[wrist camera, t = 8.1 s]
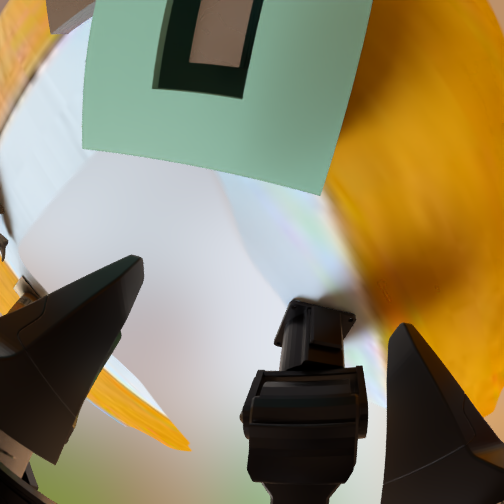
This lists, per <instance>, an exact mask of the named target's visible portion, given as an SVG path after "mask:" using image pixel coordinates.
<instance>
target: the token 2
mask: <svg viewBox="0 0 504 504" xmlns="http://www.w3.org/2000/svg"><path fill="white" fill-rule="evenodd" d="M263 1H264V0H201V3H200V8H199V12H198V17H197V22H196V27H195V32H194V37H193V43H192V48H191V54H190V60H189V62H190V63H200V64H208V65H216V66H225V67H233V68H240V69H247V70H248V69H249V64H250V59H251V54H252V50H253V45H254V40H255V36H256V31H257V27H258V23H259V18H260V14H261V10H262V5H263Z"/></svg>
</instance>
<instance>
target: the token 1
mask: <svg viewBox="0 0 504 504" xmlns="http://www.w3.org/2000/svg"><path fill="white" fill-rule="evenodd" d="M95 4H96V0H46V6H47V13H48V20H49V27H50V33H51V34H68V33H69V32H71V31H72V30H73V29H75V28H76V27H78V26H79V25H80V24H82V23H83V22H85V21H86V20H88V19H89V18H91V17H92V16H93V13H94V8H95Z"/></svg>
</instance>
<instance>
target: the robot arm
mask: <svg viewBox="0 0 504 504" xmlns="http://www.w3.org/2000/svg"><path fill="white" fill-rule="evenodd" d="M143 281H144V267H143V259H142V258H141V257H139V256H135V255H129V256H127V257H125V258H122V259H120V260H118V261H116V262H114V263H112V264H110V265H107V266H105V267H103V268H101V269H99V270H97V271H95V272H93V273H91V274H89V275H86V276H85V277H83V278H80V279H78V280H76V281H74V282H72V283H70V284H68V285H66V286H64V287H62V288H60V289H58V290H56V291H54V292H52V293H50V294H49V295H48V296H47V295H46V296H44V297H42V298H40V299H39V300H37V301H35V302H33V303H30V304H28V305H26V306H24V307H22V308H20V309H18V310H15V311H13V312H11V313H8V314H6V315H4V316H1V317H0V504H57V503H55V502H54V501H52V500H50V499H49V498H47V497H46V496H44V495H43V494H41V493H40V492H38V491H37V490H38V485H37V483H36V480H35V477H34V475H33V471H32V469H31V466H30V462H29V460H30V458H31V455H32V453H35V454H37V455H38V456H40V457H42V458H44V459H45V460H47V461H49V462H50V463H52V464H54V465H56V463H57V461H58V459H59V456H60V454H61V451H62V449H63V447H64V444H65V442H66V440H67V437H68V435H69V433H70V430H71V428H72V426H73V424H74V421H75V419H76V417H77V415H78V412H79V410H80V408H81V406H82V404H83V402H84V400H85V398H86V396H87V394H88V391H89V389H90V387H91V385H92V383H93V381H94V379H95V377H96V375H97V374H98V372H99V370H100V368H101V366H102V364H103V362H104V360H105V358H106V356H107V354H108V353H109V351H110V349H111V347H112V345H113V343H114V341H115V340H116V338H117V336H118V334H119V332H120V331H121V329H122V327H123V325H124V323H125V321H126V320H127V318H128V315H129V313H130V311H131V308H132V306H133V304H134V302H135V299H136V297H137V295H138V293H139V290H140V288H141V286H142V284H143ZM294 306H295V307H294ZM350 318H352V319H350ZM355 321H356V316H355V314H353V313H348V312H343V311H339V310H334V309H330V308H325V307H321V306H317V305H312V304H308V303H304V302H299V301H291V302H290V303H289V305H288V307H287V310H286V312H285V315H284V317H283V320H282V322H281V325H280V327H279V330H278V332H277V335H276V337H275V339H274V345H276V346H279V347H282V352H281V360H280V367H279V371H265V370H258V371H257V374H256V377H255V378H254V380H253V382H252V385H251V388H250V390H249V393H248V396H247V398H246V401H245V404H244V406H243V410H242V412H241V414H240V420H241V422H242V423H243V430H244V434H245V437H246V438H247V439H249V455H248V464H247V471H248V473H249V475H250V477H251V479H252V481H253V482H261V483H262V485H263V486H264V487H265V489H266V491H267V492H268V493H269V495H270V497H271V502H270V504H329V498H330V497H331V495H332V494H333V493H334V492H335V491H336V489H337V488H338V487H339V486H340V484H344V483H345V482H346V481H347V480H348V478H349V477H350V475H351V474H352V472H353V469H354V466H355V464H356V457H357V441H358V439H361V438H365V437H366V434H367V427H368V401H367V393H366V386H365V379H364V373H363V366H356V367H351V368H345V364H344V345H343V340H344V338H345V337H346V335H347V334H348V332H349V330H350V329H351V327H352V326H353V324H354V323H355ZM383 484H384V485H383V488H382V498H381V504H504V443H503V442H502V441H501V440H500V439H499V438H498V437H497V435H496V434H495V433H494V431H493V430H492V429H491V428H490V426H489V425H488V424H487V422H486V421H485V420H484V418H483V417H482V416H481V414H480V413H479V412H478V411H477V409H476V408H475V406H474V405H473V404H472V402H471V401H470V399H469V398H468V397H467V395H466V394H464V391H463V390H462V388H461V387H460V385H459V384H458V383H457V381H456V380H455V379H454V377H453V376H452V375H451V373H450V372H449V370H448V369H447V368H446V367H445V365H444V364H443V363H442V361H441V360H440V359H439V357H438V356H437V355H436V353H435V352H434V351H433V350H432V348H431V347H430V346H429V345H428V343H427V342H426V341H425V340H424V338H423V337H422V336H421V335H420V333H419V332H418V331H417V330H416V328H415V327H414V326H413V325H412V324H409V323H404V322H403V323H401V324H400V325H399V326H398V327H397V329H396V330H395V331H394V333H393V334H392V335H391V337H390V339H389V343H388V364H387V435H386V457H385V469H384V480H383Z"/></svg>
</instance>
